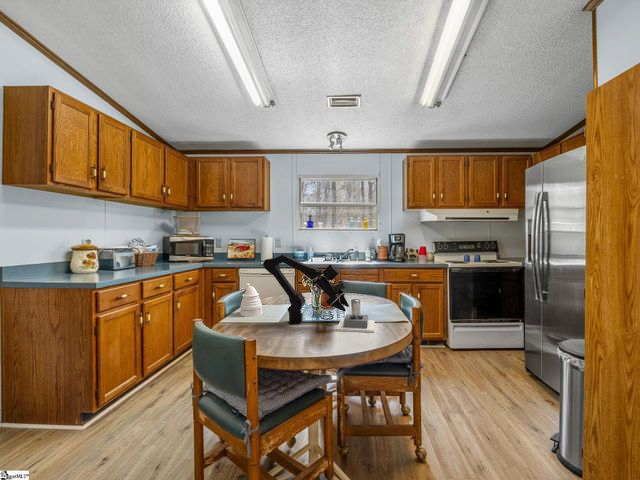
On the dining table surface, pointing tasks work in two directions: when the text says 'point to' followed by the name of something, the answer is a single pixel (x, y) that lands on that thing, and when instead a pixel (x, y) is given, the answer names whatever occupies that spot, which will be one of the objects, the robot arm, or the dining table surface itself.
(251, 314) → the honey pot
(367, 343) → the dining table surface
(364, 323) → the mount
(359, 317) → the grey cylindrical piece
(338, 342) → the dining table surface
